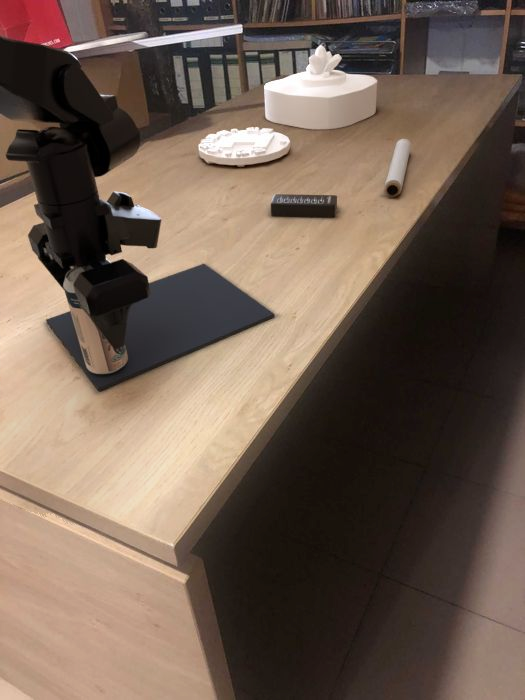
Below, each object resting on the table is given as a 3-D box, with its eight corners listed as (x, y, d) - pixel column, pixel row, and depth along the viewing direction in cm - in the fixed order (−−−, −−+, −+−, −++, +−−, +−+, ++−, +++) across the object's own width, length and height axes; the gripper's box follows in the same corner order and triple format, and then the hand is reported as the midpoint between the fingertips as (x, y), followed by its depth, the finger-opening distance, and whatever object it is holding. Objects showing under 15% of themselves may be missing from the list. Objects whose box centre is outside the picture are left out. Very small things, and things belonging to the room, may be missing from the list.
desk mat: (98, 391, 66) (97, 388, 66) (46, 322, 78) (45, 319, 78) (274, 317, 76) (274, 313, 76) (204, 266, 89) (204, 263, 88)
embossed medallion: (258, 174, 119) (257, 159, 118) (181, 161, 128) (179, 148, 126) (305, 145, 133) (305, 131, 131) (232, 136, 142) (231, 123, 140)
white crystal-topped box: (388, 108, 154) (393, 39, 144) (330, 133, 139) (331, 58, 130) (312, 97, 168) (311, 33, 158) (252, 118, 153) (247, 49, 144)
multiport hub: (275, 206, 106) (274, 193, 104) (337, 207, 104) (337, 194, 102) (270, 216, 102) (270, 203, 101) (334, 218, 100) (335, 205, 99)
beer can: (123, 376, 67) (101, 283, 60) (82, 378, 67) (54, 285, 60) (132, 351, 71) (112, 261, 64) (93, 352, 71) (68, 263, 64)
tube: (400, 199, 105) (410, 153, 124) (401, 182, 103) (411, 138, 123) (383, 198, 106) (395, 153, 125) (384, 181, 104) (396, 138, 123)
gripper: (187, 200, 54) (206, 339, 64) (107, 153, 67) (132, 274, 76) (70, 234, 50) (109, 380, 59) (8, 177, 62) (48, 304, 71)
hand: (102, 328), depth 66 cm, fingers open, 9 cm apart
